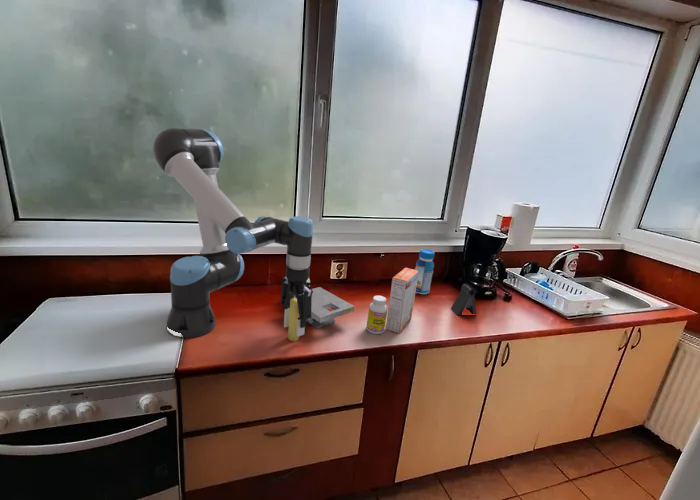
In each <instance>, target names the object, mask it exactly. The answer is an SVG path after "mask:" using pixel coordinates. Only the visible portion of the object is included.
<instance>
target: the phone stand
mask: <svg viewBox="0 0 700 500" xmlns="http://www.w3.org/2000/svg"><path fill="white" fill-rule="evenodd" d="M475 294H476V290H475V289H474V288H473V287H471V286H470V285H469V284H468V283H463V284H462V285H461V289H460V291H459V293H458V295H457V296H456V297H455V298H456V299H455V300H454V302H453V304H452V306H451V307H450V309H452V310H451V311H453V312H454V314H456V316H458V315H462V312H463V310H464V308H466V309H467V310H469V311H470V312H471V313H472V314H477V315H478V313H477V306H476V299H475Z"/></svg>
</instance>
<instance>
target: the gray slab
mask: <svg viewBox="0 0 700 500" xmlns="http://www.w3.org/2000/svg"><path fill="white" fill-rule="evenodd" d="M312 290H313V293H312V302H311V318H309V319H306V324H308V325H310V326H311V327H312V328H314V329H316V330H318V329H320V328H323V327H326V326H329V325H333V324H334V323H336V319H335V318H339V317H342V316H344V315H347V314H349V313H353V312H355V305H353V304H352V303H349V302H348V301H346V300H344V299H342V298H340V297H339V296H337V295H335V294H333V293H331V292H330V291H328V290H326V289H324V288H323V287H321V286H319V287H315V288H312ZM300 295H302V294H300ZM294 298H295V296H294ZM330 309H331V311H330Z"/></svg>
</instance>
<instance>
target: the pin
mask: <svg viewBox="0 0 700 500" xmlns="http://www.w3.org/2000/svg"><path fill="white" fill-rule="evenodd" d="M297 318H299V311H298V304H297V298H292V299H291V300H290V313H289V326H288V330H287V331H288V332H287V339H288V341H291V342H297V341H298V340H299V339H300V336H298V337H297V336H296V332H297Z"/></svg>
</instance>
